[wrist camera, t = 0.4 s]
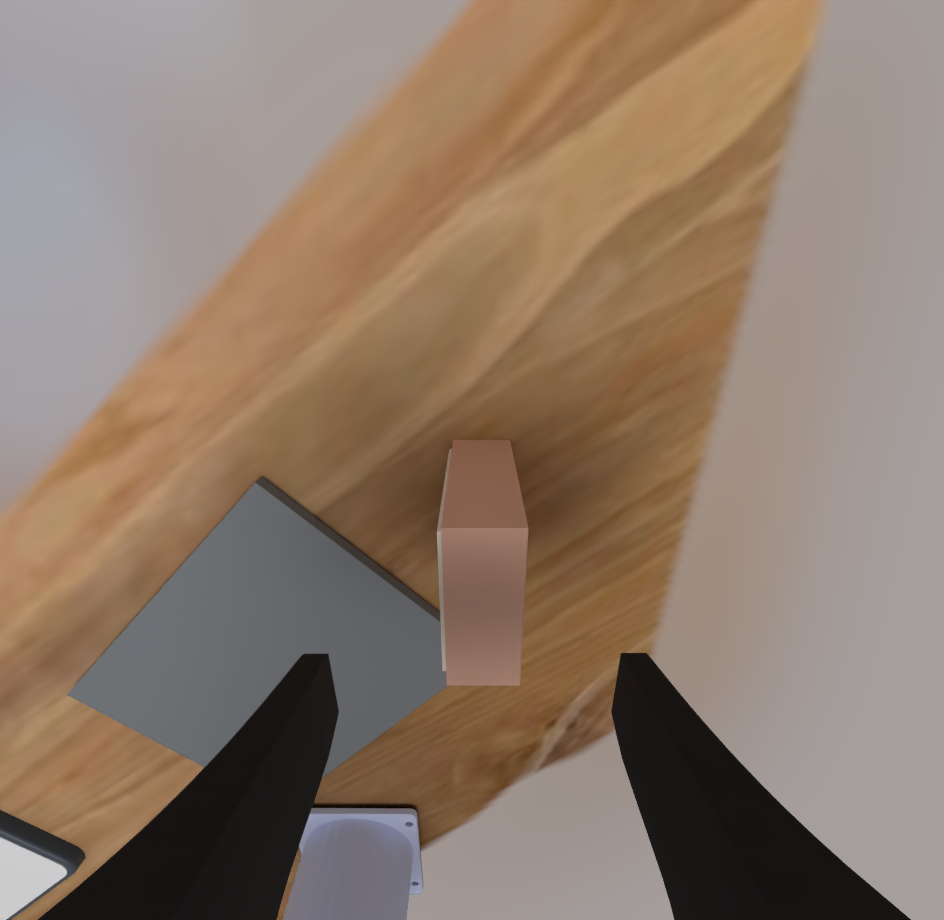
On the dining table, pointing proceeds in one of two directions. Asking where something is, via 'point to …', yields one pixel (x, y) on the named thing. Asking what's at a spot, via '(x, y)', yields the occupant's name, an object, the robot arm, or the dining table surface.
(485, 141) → the dining table surface
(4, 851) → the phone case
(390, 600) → the mat
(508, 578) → the tile
